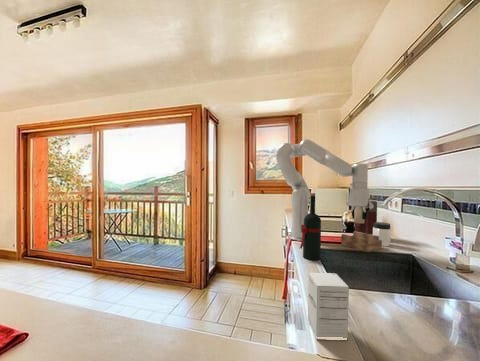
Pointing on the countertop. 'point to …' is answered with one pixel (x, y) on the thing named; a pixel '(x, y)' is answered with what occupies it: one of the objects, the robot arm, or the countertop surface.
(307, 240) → the wine bottle
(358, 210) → the roll
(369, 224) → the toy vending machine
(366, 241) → the holder
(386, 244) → the jar
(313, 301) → the supplement box
